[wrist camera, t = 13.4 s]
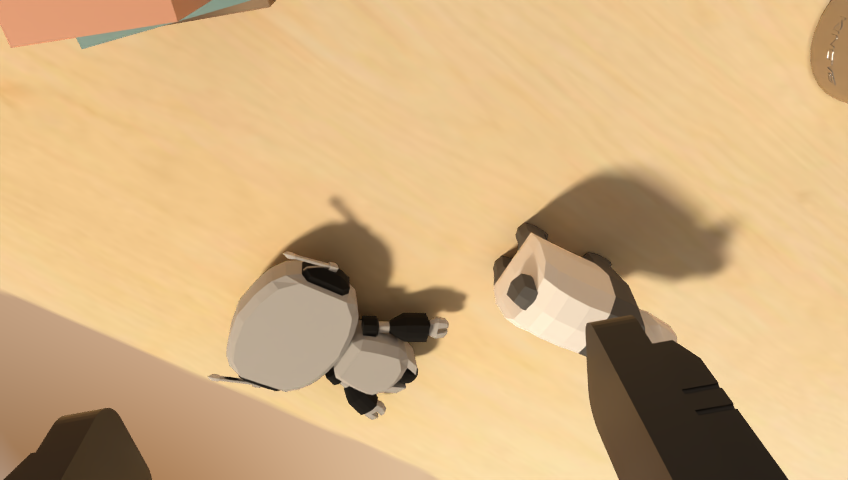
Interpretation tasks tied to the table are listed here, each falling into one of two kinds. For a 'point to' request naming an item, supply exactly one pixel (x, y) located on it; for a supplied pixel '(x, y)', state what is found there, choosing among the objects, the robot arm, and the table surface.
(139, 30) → the tower top
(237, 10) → the tower base
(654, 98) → the table surface
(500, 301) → the giant panda
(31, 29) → the terracotta cube
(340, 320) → the robot toy
